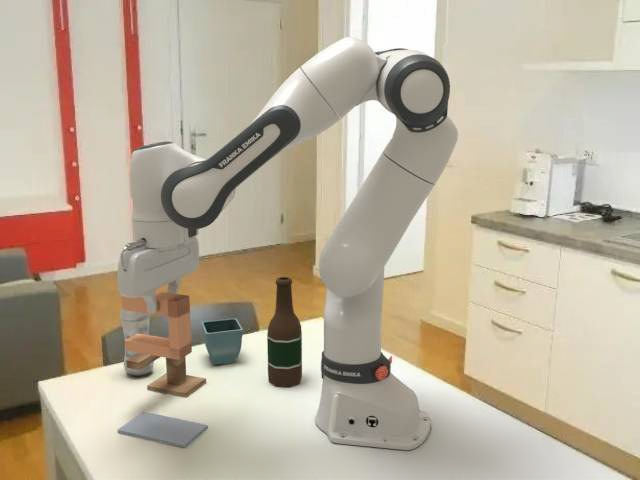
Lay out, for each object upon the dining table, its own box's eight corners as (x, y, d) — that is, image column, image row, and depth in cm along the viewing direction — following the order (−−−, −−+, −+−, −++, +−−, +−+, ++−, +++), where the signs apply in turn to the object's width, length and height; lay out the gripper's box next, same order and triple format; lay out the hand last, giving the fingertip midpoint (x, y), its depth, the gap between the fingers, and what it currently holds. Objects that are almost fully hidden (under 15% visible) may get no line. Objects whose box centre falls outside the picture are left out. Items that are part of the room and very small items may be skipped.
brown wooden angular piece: (206, 382, 146) (204, 333, 144) (156, 419, 129) (153, 365, 127) (168, 375, 150) (166, 327, 147) (115, 411, 133) (111, 357, 130)
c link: (191, 352, 122) (189, 295, 119) (179, 360, 118) (176, 301, 116) (138, 343, 126) (135, 288, 123) (125, 350, 122) (121, 294, 120)
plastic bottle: (150, 379, 148) (144, 295, 143) (120, 379, 148) (114, 294, 143) (157, 367, 154) (152, 286, 150) (129, 367, 154) (123, 286, 150)
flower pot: (202, 355, 161) (200, 321, 159) (237, 351, 164) (236, 317, 162) (207, 369, 153) (205, 333, 151) (244, 365, 156) (243, 329, 154)
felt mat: (207, 427, 126) (207, 425, 126) (184, 448, 119) (184, 445, 119) (143, 414, 132) (143, 411, 132) (117, 432, 124) (117, 429, 124)
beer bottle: (280, 370, 152) (279, 271, 147) (308, 378, 148) (308, 276, 143) (261, 383, 146) (258, 279, 141) (290, 391, 142) (288, 285, 137)
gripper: (136, 247, 106) (141, 328, 109) (203, 224, 124) (206, 294, 127) (105, 244, 108) (111, 323, 111) (175, 222, 127) (179, 290, 130)
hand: (162, 307), depth 119 cm, fingers closed on c link, 4 cm apart
